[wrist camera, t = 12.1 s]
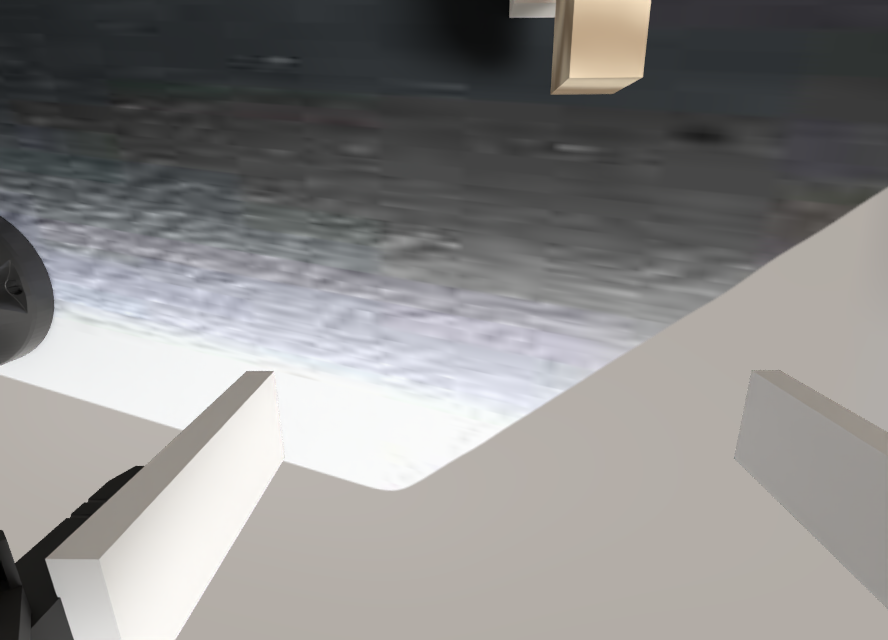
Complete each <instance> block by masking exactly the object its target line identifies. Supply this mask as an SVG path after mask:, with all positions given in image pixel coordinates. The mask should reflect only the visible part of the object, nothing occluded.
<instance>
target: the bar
mask: <svg viewBox="0 0 888 640" xmlns="http://www.w3.org/2000/svg"><path fill="white" fill-rule="evenodd" d="M650 5H651V0H556V10H555V28H554V45H553V63H552V80H551V94H613V93H615V92H617V91H619V90H620V89H622V88H624V87H626V86H628V85H630V84H631V83H633V82H635V81H637V80H639V79H641V78H642V77H643V70H644V61H645V51H646V42H647V33H648V24H649V15H650Z"/></svg>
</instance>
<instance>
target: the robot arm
mask: <svg viewBox="0 0 888 640" xmlns="http://www.w3.org/2000/svg"><path fill="white" fill-rule="evenodd" d="M53 313H54V296H53V290H52V285H51V282H50V278H49V276H48V273H47V271H46V268H45V266H44V264H43V262H42V260H41V259H40V257H39V255H38V254H37V252H36V251H35V250H34V248H33V247H32V245H31V244H30V243H29V242H28V241H27V239H26V238H25V237H24V236H23V235H22V234H21V233H20V232H19V231H18V230H17V229H16V228H14V227H13V226H12V225H11V224H10V223H8V222H7V221H6V220H4V219H3V218H1V217H0V365H3V364H5V363H8V362H10V361H13V360H15V359H18V358H20V357H22V356H24V355H26V354H28V353H30V352H31V351H32V350H34V349H35V348H36V347H37V346H38V345H39V344H40V343H41V342H42V341H43V339H44V338H45V336H46V335H47V333H48V331H49V328H50V326H51V323H52V319H53ZM284 458H285V455H284V447H283V439H282V431H281V423H280V415H279V407H278V399H277V391H276V383H275V375H274V371H246V372H245V373H244V374H243V375H242V376H241V377H240V378H239V379H238V380H237V381H236V382H235V383H234V384H232V385H231V386H230V387H229V388H228V389H227V390H226V391H225V392H224V393H223V394H222V395H221V396H220V397H218V398H217V399H216V400H215V401H214V402H213V403H212V404H211V405H210V406H209V407H208V408H207V409H206V410H205V411H203V412H202V413H201V414H200V415H199V416H198V417H197V418H196V419H195V420H194V421H193V422H192V423H191V424H189V425H188V426H187V427H186V428H185V429H184V430H183V431H182V432H181V433H180V434H179V435H178V436H177V437H176V438H174V439H173V440H172V441H171V442H170V443H169V444H168V445H167V446H166V447H165V448H164V449H163V450H162V451H161V452H159V454H157V455H156V456H155V457H154V458H153V459H152V460H151V461H150V462H149V463H148V464H147V465H145V466H135V467H133V468H131V469H129V470H128V471H126V472H124V473H122V474H121V475H119V476H117V477H115V478H113V479H112V480H110V481H108V482H107V483H106V484H105V485H104V486H103V487H102V488H100V489H99V490H98V491H97V492H96V493H95V494H94V495H92V496H91V497H90V498H89V499H88V502H87V503H83V504H82V505H81V506H80V507H79V508H78V509H76V510H75V511H74V512H73V513H72V514H71V517H70V518H66V519H65V520H64V521H63V522H62V523H60V524H59V525H58V526H57V527H56V528H55V529H54V530H52V531H51V532H50V533H49V534H48V535H47V536H46V537H45V538H44V539H42V540H41V541H40V542H39V543H38V544H37V545H35V546H34V547H33V548H32V549H31V550H30V551H29V552H27V553H26V554H25V555H24V556H23V557H22V558H21V559H19V560H18V561H17V562H16V563H14V560H13V557H12V554H11V551H10V549H9V545H8V542H7V540H6V537H5V535H4V532H3V531H2V530H0V640H175V639H176V638H177V636H178V634H179V633H180V631H181V629H182V628H183V626H184V624H185V623H186V621H187V619H188V618H189V616H190V614H191V613H192V611H193V609H194V608H195V606H196V604H197V603H198V601H199V600H200V598H201V596H202V595H203V593H204V591H205V590H206V588H207V586H208V584H209V583H210V581H211V580H212V578H213V576H214V575H215V573H216V571H217V570H218V568H219V566H220V565H221V563H222V561H223V560H224V558H225V556H226V555H227V553H228V551H229V549H230V548H231V546H232V545H233V543H234V541H235V540H236V538H237V536H238V535H239V533H240V531H241V530H242V528H243V526H244V525H245V523H246V521H247V519H248V518H249V516H250V515H251V513H252V511H253V510H254V508H255V506H256V504H257V503H258V501H259V500H260V498H261V496H262V495H263V493H264V491H265V490H266V488H267V486H268V485H269V483H270V481H271V480H272V478H273V476H274V475H275V473H276V471H277V470H278V468H279V466H280V465H281V463H282V461H283V460H284ZM734 459H735V460H736V461H737V462H738V463H739V464H740V465H742V466H743V467H744V468H745V469H746V470H747V471H748V472H749V473H750V474H751V475H752V476H753V477H754V478H755V479H756V480H757V481H758V482H759V483H760V484H761V485H762V486H763V487H764V488H765V489H766V490H767V491H768V492H769V493H770V494H771V495H772V496H773V497H774V498H775V499H776V500H777V501H778V502H779V503H780V504H781V505H782V506H783V507H784V508H785V509H786V510H787V511H789V513H790V514H792V515H793V517H795V518H796V520H797V521H799V522H800V523H801V524H802V525H803V526H804V527H805V528H806V529H807V530H808V531H809V532H810V533H811V534H812V535H813V536H814V537H815V538H816V539H817V540H818V541H819V542H820V543H821V544H822V545H823V546H824V547H825V548H826V549H827V550H828V551H829V552H830V553H831V554H832V555H833V556H834V557H836V559H837V560H838V561H839V562H840V563H841V564H842V565H843V566H844V567H845V568H846V569H847V570H848V571H849V572H851V573H852V574H853V575H854V576H855V577H856V578H857V579H858V580H859V581H860V582H861V583H862V584H863V585H864V586H865V587H866V588H867V589H868V590H869V591H870V592H871V593H872V594H873V595H874V596H875V597H876V598H877V599H878V600H879V601H880V602H881V603H882V604H883V605H884V606H885V607H886V608H887V609H888V432H886V431H884V430H883V429H881V428H879V427H877V426H875V425H874V424H872V423H870V422H869V421H867V420H865V419H863V418H862V417H860V416H858V415H856V414H855V413H853V412H851V411H850V410H848V409H846V408H844V407H843V406H841V405H839V404H838V403H836V402H834V401H832V400H831V399H829V398H827V397H825V396H824V395H822V394H820V393H818V392H817V391H815V390H813V389H812V388H810V387H808V386H806V385H805V384H803V383H801V382H799V381H797V380H796V379H794V378H792V377H791V376H789V375H787V374H785V373H784V372H782V371H780V370H752V371H751V376H750V381H749V386H748V391H747V396H746V401H745V406H744V411H743V416H742V421H741V426H740V431H739V436H738V441H737V446H736V451H735V456H734Z"/></svg>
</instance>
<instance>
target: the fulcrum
mask: <svg viewBox="0 0 888 640" xmlns="http://www.w3.org/2000/svg"><path fill="white" fill-rule="evenodd" d="M555 10H556V0H510V7H509V18H547V17H555Z"/></svg>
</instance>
